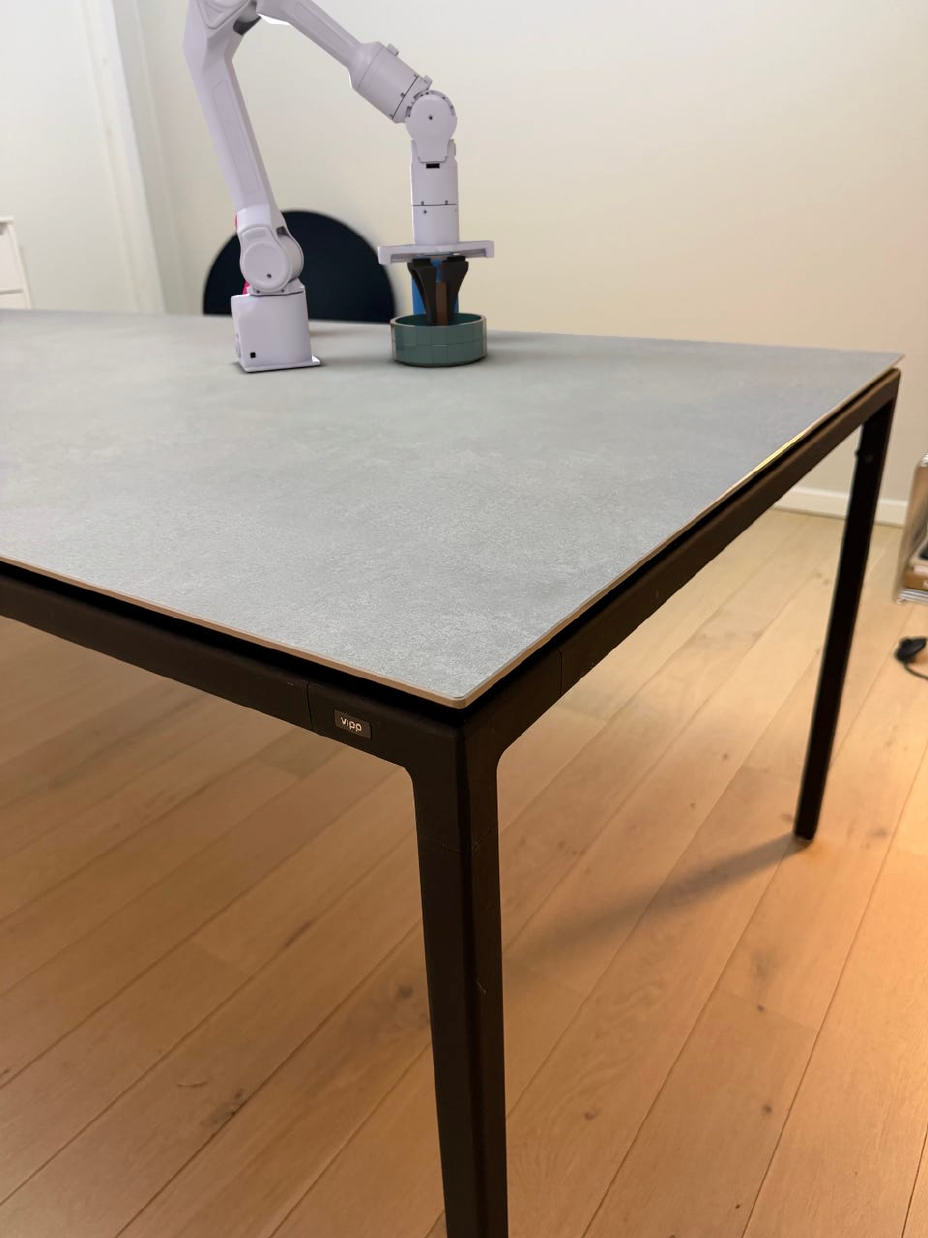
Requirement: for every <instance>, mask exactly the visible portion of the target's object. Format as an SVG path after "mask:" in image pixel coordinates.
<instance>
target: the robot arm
mask: <svg viewBox="0 0 928 1238" xmlns="http://www.w3.org/2000/svg"><path fill="white" fill-rule="evenodd" d="M262 19H264V20H265V21H266V22H267V23H269V24H275V25H289V26H291V27H293V28H294V29H295V30H296V31H298V32H299V33H300V34H302V35H303V36H304V37H305V38H307V39H308V40H309V41H310V42H312V43H313V44H314V45H316V46H317V47H318V48H319V49H321V50H323V52H325V53H326V54H327V55H329V56H330V57H331V58H332V59H334V60H335V61H337V62H338V63H339V64H340V65H342V66H343V67H344V68H346V70H347V72H348V78H349V84H350V88H351V89H352V90H353V91H354V92H355V93H356V94H358V95H359V96H360V97H361V98H363V99H364V100H365V101H367V102H368V103H369V104H370V105H371V106H373V107H374V108H375V109H376V110H378V111H379V112H380V113H381V114H383V115H384V116H385V117H386V118H388V119H389V120H390V121H392V123H394V124H395V125H397V124H404V126H405V129H406V132H407V133H408V135H409V136H410V138H411V140H410V153H411V154H410V156H411V158H410V159H411V160H410V162H409V180H410V181H409V182H410V201H411V203H410V204H411V222H412V239H413V240H412V242H413V243H407V244H396V245H386V246H385V245H384V246H377V254H378V255H377V256H378V264H380V265H383V266H384V265H386V266H387V265H392V264H402V263H403V264H404V263H405V264H406V267H407V271H408V272H409V275H410V276H412V278H413V280H414V282H415V284H416V286H417V289H418V291H419V294H420V296H421V299H422V302H423V306H424V309H425V313H426V318H427V322H430V323H437V305H436V279H437V269H438V268H437V267H436V266H433V263H431V261H437V260H444V261H442V262H439V263H438V267H439V273H440V280H441V281H445V282H446V283H447V319H448V322H452V321H453V316H454V310H455V305H456V301H457V297H458V296H459V293H460V290H461V287H462V285H463V282H464V280H465V277H466V275H467V273H468V271H469V266H470V261H468V260H466V259H480V258H486V259H491V258H492V259H493V258H495V241H494V240H489V239H487V240H484V239H483V240H462V241H461V240H460V209H459V207H460V204H459V202H460V201H459V172H458V171H459V170H458V169H459V168H458V161H457V160H456V156H457V144H456V142H455V138H452V137H453V136H454V134H455V132H456V129H457V125H458V117H457V113H456V109H455V107H454V104H453V103H452V101H451V99H450V98H449V97H448V96H447V95H446V94H445V93H443V92H441V91H438V90H436V89H435V90H434V89H430V87H431V86H432V84H433V81H434V80H433V79H432V78H431V77H430V76H428V75H427V74H425V75H424V77H423V76H422V75H421V74H419V73H418V72H417V71H415V69H413V68H412V67H410V66H409V65H408V64H407V63H406V62H405V61H403V60H402V59H401V58H400V57H399V56H398V55H399V53H400V51H399V49H398V48H397V47H395V46H394V45H393V44H392V43H390V42H389V43H388V44H387V46H385V44H383V43H382V42H381V41H379V40H376V41H371V42H364V43H362V42H360V41H359V40H358V39H357V38H356V37H355V36H354V35H353V34H351V33H350V32H349V31H348V30H346V29H345V28H344V27H343V26H342V25H340V23H338V22H337V21H336V20H335V19H334V18H333V17H332V16H331V15H330V14H328V13H327V12H326V11H325V10H323V9H322V8H321V7H320V6H319V5H317V3H315V2H314V1H313V0H188V2H187V7H186V16H185V23H184V28H183V29H184V30H183V35H182V50H183V51H182V52H183V55H184V58H185V61H186V65H187V68H188V70H189V74H190V77H191V80H192V82H193V86H194V88H195V92H196V95H197V98H198V101H199V104H200V108H201V110H202V113H203V116H204V119H205V123H206V125H207V129H208V131H209V134H210V137H211V140H212V144H213V147H214V149H215V153H216V155H217V158H218V159H217V160H218V162H219V165H220V168H221V171H222V174H223V177H224V180H225V183H226V187H227V189H228V193H229V196H230V199H231V201H232V205H233V207H234V210H235V213H236V214H237V230H236V233H237V237H238V240H239V243H240V258H239V268H240V272H241V274H242V276H243V278H244V279H245V282H246V281H247V282H248V283H249V284H250V286H249V287H247V293H248V294H246V295H243V294H240V295H239V294H237V295H233V296H231V298H230V307H231V316H232V324H233V331H234V339H235V343H234V344H235V345H234V346H235V353H236V357H237V362H238V364H239V365H240V366H241V367H242V369H243V370H244V371H245V372H246V373H247V372H259V371H260V372H261V371H270V370H271V371H272V370H281V369H291V368H292V369H293V368H300V367H310V366H320V365H321V361H320V360H319V359H318V358H317V357H316V356H314V355H313V353H312V343H311V334H310V325H309V314H308V304H307V296H306V295H307V294H306V285H304V284H303V283H302V282H301V281H300V279H299V278H298V277H299V276H300V274H301V272H302V271H303V268H304V264H305V263H304V259H305V258H304V253H303V250H302V247H301V246H300V244H299V243H298V241H297V240H296V239H295V238H294V237H293V235H292V234H291V232H290V231H289V229H288V226H287V222H286V219H285V218H284V216H283V214H282V212H281V210H280V209H279V207H278V205H277V202H276V199H275V195H274V192H273V190H272V186H271V183H270V180H269V176H268V173H267V170H266V167H265V164H264V161H263V158H262V154H261V151H260V148H259V147H260V146H259V145H258V141H257V138H256V135H255V131H254V128H253V124H252V123H251V122H252V121H251V119H250V115H249V112H248V109H247V105H246V103H245V100H244V99H245V98H244V96H243V93H242V89H241V87H240V83H239V80H238V77H237V74H236V70H235V67H234V64H233V59H234V57H235V54H236V52H237V51H238V49H239V47H240V45H241V42H242V40H243V39H244V37H245V35H246V34H247V33H248V32H249V31H250V30H251V29H252V28H254V27H255V26H256V25H257V24H258V23H259V22H260V21H261V20H262ZM236 214H235V215H236ZM444 252H449V253H453V254H454V255H442V256H427V257H415V256H425V253H444Z"/></svg>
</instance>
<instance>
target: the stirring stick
mask: <svg viewBox="0 0 928 1238" xmlns="http://www.w3.org/2000/svg"><path fill="white" fill-rule="evenodd" d="M436 305H437V323H432V326H445V325H448V319H447V283H446V282H445V281H436Z"/></svg>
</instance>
